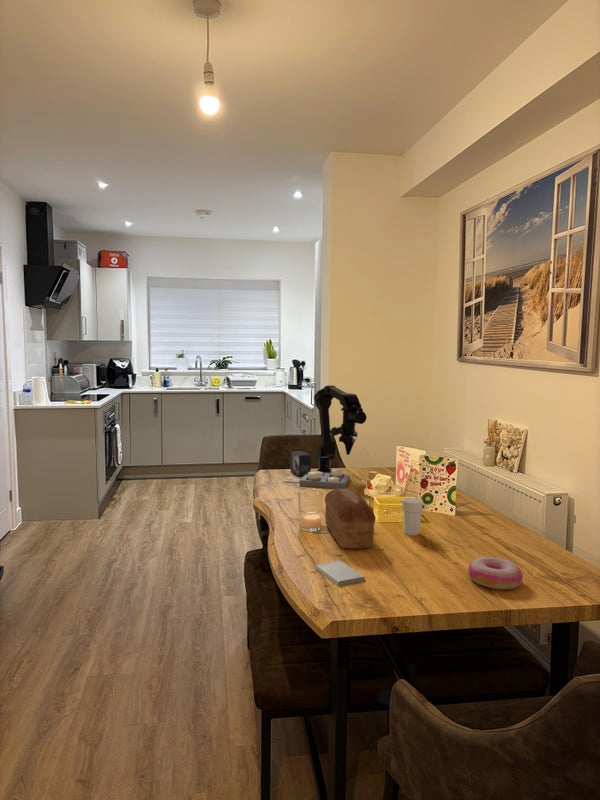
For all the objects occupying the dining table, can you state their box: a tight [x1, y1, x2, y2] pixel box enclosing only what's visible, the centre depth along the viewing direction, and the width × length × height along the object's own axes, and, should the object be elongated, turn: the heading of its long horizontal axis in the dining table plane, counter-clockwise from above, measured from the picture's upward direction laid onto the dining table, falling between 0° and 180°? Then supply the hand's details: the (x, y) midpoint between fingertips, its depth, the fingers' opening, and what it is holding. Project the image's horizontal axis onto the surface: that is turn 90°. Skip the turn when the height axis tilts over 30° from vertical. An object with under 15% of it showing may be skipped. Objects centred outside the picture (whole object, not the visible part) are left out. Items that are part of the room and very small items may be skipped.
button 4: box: [330, 468, 343, 478], centre depth 253 cm, size 5×5×3 cm
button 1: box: [308, 471, 320, 481], centre depth 246 cm, size 5×5×3 cm
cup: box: [401, 497, 424, 536], centre depth 181 cm, size 7×7×11 cm
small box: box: [290, 450, 311, 478], centre depth 266 cm, size 11×6×10 cm, turn 25°
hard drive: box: [315, 560, 366, 586], centre depth 147 cm, size 2×8×12 cm
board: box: [283, 472, 351, 489], centre depth 251 cm, size 18×28×2 cm, turn 77°
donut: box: [467, 556, 524, 591], centre depth 144 cm, size 14×13×5 cm
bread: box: [324, 487, 376, 550], centre depth 177 cm, size 12×28×14 cm, turn 9°
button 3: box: [328, 477, 339, 482], centre depth 244 cm, size 5×5×3 cm
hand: (348, 454), depth 255 cm, fingers closed
